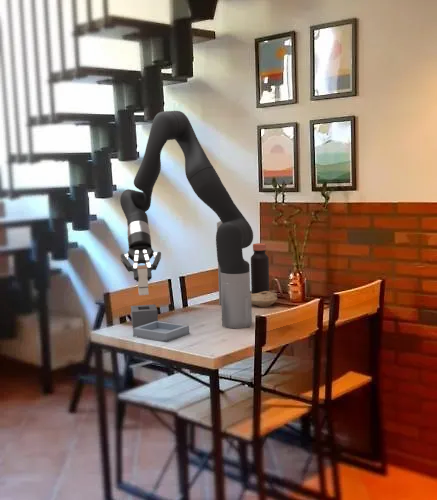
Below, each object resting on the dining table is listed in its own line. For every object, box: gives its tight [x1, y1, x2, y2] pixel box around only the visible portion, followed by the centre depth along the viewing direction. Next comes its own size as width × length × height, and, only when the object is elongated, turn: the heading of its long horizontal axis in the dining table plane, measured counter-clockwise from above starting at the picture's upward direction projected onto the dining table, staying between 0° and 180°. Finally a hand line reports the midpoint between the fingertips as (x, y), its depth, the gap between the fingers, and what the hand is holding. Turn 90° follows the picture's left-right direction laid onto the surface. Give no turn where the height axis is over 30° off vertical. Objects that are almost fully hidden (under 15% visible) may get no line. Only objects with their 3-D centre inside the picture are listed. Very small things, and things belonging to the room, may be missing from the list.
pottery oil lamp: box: [250, 290, 278, 308], centre depth 247 cm, size 9×12×7 cm
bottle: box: [250, 242, 270, 294], centre depth 263 cm, size 7×7×20 cm
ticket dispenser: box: [130, 304, 159, 329], centre depth 224 cm, size 8×9×6 cm
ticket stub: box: [137, 264, 150, 296], centre depth 223 cm, size 3×4×9 cm
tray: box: [132, 320, 190, 343], centre depth 211 cm, size 13×11×2 cm
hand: (143, 279), depth 221 cm, fingers closed on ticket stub, 3 cm apart
